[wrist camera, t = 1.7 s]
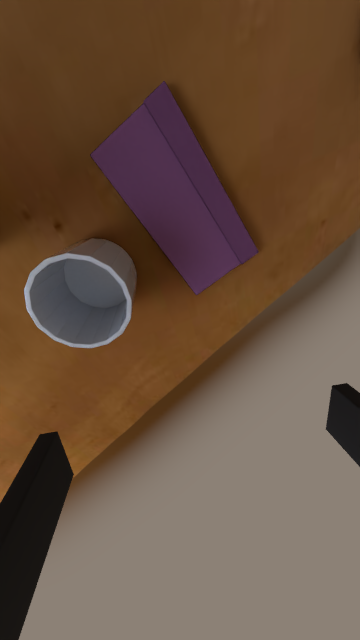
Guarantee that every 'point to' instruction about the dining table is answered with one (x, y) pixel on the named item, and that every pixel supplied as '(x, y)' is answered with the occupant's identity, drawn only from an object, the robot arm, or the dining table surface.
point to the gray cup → (83, 293)
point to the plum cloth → (175, 191)
